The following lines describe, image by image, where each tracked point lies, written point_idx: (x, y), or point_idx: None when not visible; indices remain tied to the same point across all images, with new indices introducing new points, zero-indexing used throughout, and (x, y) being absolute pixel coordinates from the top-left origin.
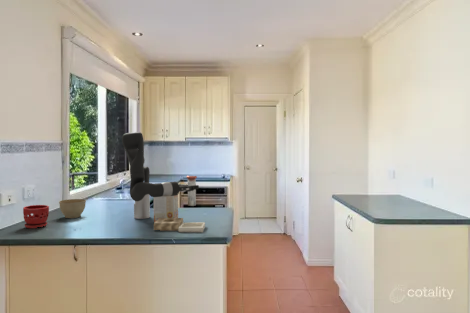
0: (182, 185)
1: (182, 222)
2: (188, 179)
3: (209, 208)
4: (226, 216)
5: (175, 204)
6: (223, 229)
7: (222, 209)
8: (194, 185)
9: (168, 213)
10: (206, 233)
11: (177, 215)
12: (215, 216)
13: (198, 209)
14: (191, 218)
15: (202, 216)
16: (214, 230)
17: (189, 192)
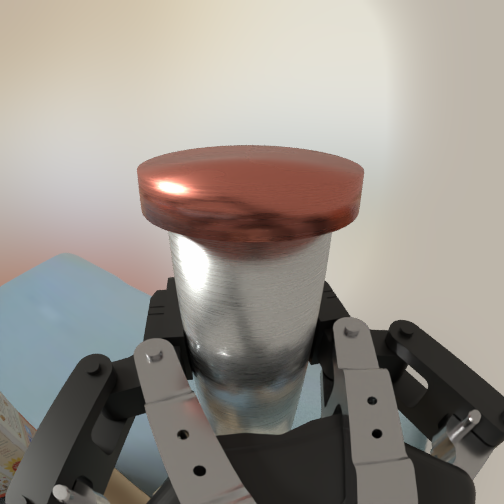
0: (409, 492)
1: (128, 480)
2: (278, 253)
3: (25, 277)
4: (131, 293)
5: (3, 414)
6: (314, 379)
7: (61, 264)
8: (322, 299)
9: (13, 465)
10: None
11: (34, 432)
12: (102, 312)
13: (5, 296)
14: (54, 378)
15: (65, 337)
16: (317, 412)
17: (280, 416)
